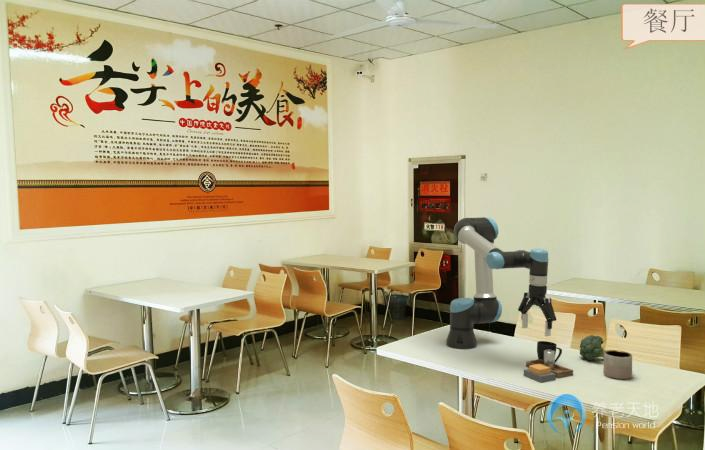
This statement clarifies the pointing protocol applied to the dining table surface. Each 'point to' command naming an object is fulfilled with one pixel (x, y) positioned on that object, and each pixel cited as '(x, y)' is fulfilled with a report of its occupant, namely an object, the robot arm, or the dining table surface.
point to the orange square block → (539, 369)
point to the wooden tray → (558, 369)
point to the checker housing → (540, 376)
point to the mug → (544, 346)
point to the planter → (617, 364)
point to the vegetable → (592, 347)
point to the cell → (549, 358)
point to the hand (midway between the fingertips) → (535, 331)
